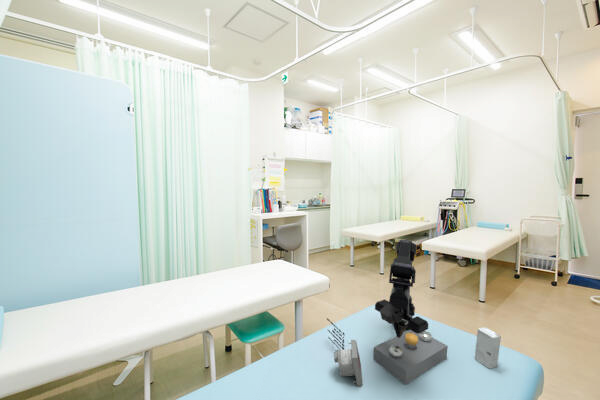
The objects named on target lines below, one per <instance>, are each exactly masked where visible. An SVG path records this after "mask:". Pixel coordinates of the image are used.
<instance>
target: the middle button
mask: <svg viewBox="0 0 600 400" xmlns="http://www.w3.org/2000/svg"><path fill="white" fill-rule="evenodd" d="M405 341H406V347H408V348H409V349H411V350H414V349H415V348H416V345H417V344H418V337H417V336H416V335H415V334H413V333H406V334H405Z"/></svg>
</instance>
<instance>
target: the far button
mask: <svg viewBox="0 0 600 400" xmlns="http://www.w3.org/2000/svg"><path fill="white" fill-rule="evenodd" d="M431 337H432V334H431V333H430V332H429V331H427V330H425V331H423V332H421V333H419V339H420V340H421V341H424V342H431Z"/></svg>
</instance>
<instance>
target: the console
mask: <svg viewBox="0 0 600 400" xmlns="http://www.w3.org/2000/svg"><path fill="white" fill-rule="evenodd" d="M406 333H413V334H415V335H416V336H417V337H418V344H417V345H416V348H415V349H414V350H411V349H409V348H408V347H406V341H405V334H406ZM392 345H396V346H399V347H400V348H401V349H402V358H400V359H396V358H393V357H391V356H390V354H389V347H390V346H392ZM447 358H448V345H447V344H445V343H444V342H442V341H439V340H438V339H436V338H434V337H432V336H431V342H424V341H421V340H420V339H419V334H418V333H415V332H413V331H412V330H410V329H408V330H405V331H404V332H403V334H402V335H401V337H400V338H398V337H397V336H394V337H391V338H390V339H388V340H386V341H383V342H381V343H379V344H377V345H375V346H374V347H373V361H374V362H376V363H377V364H378V365H380V366H381V367H382V368H384V369H385V370H386V371H387V372H389V373H390V374H391V375H392V376H394V377H395V378H396V379H398V380H399V381H400V382H401V383H402V384H404V385H407V384H409V383H411V382H412V381H414V380H416V379H417V378H418V377H420V376H422V375H423V374H424V373H426V372H428V371H429V370H431V369H432V368H434V367H436V366H437V365H438V364H440V363H442V362H443V361H445V360H446V359H447Z"/></svg>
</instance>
